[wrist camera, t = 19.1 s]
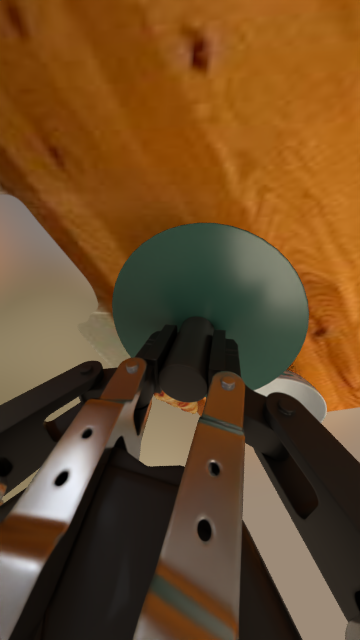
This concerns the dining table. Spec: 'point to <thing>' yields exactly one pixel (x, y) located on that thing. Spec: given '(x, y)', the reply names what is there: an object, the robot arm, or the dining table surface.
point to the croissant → (177, 402)
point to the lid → (211, 304)
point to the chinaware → (297, 392)
